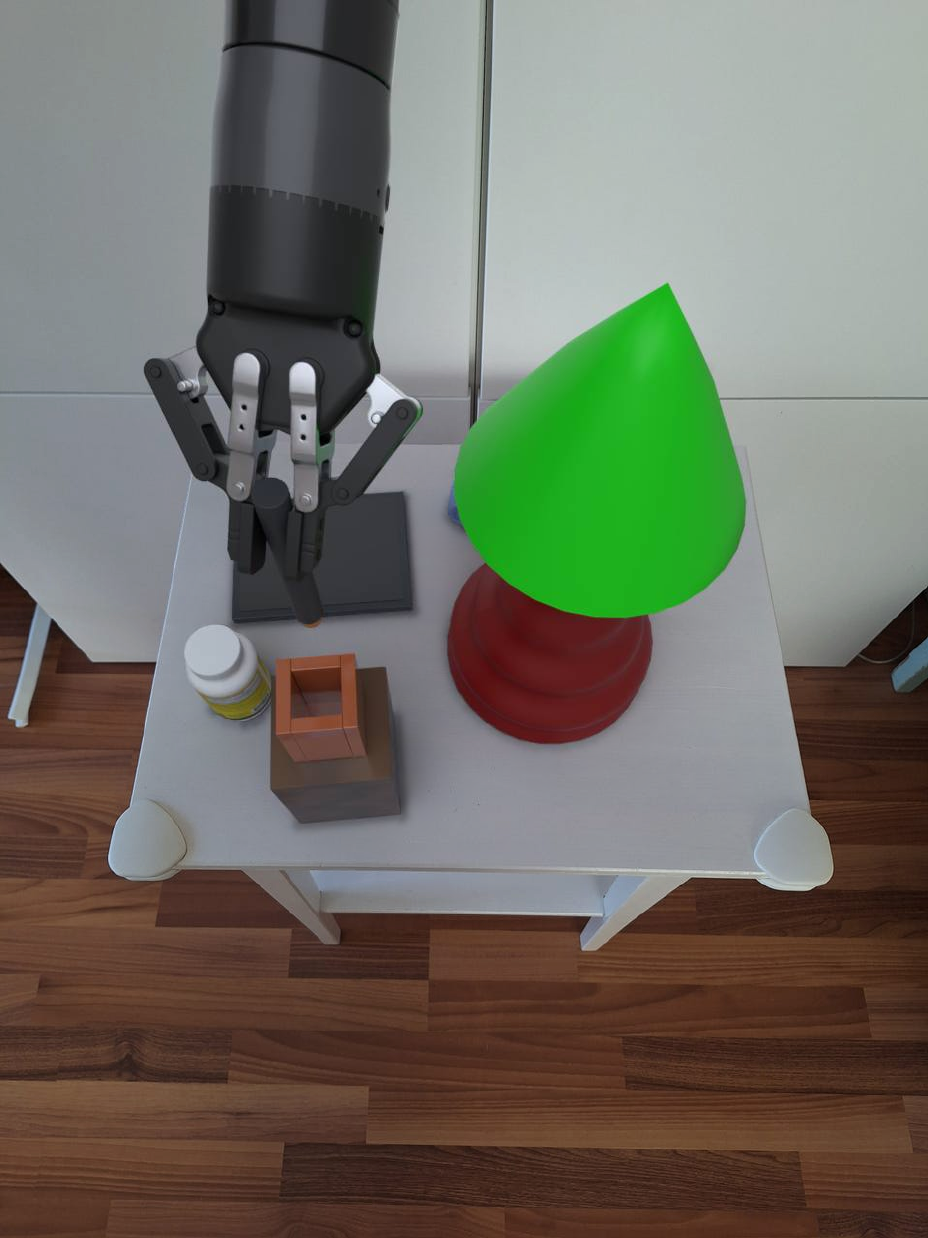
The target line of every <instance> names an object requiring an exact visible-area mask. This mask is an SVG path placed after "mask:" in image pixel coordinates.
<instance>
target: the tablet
mask: <svg viewBox="0 0 928 1238" xmlns="http://www.w3.org/2000/svg"><path fill="white" fill-rule="evenodd" d="M404 498H405V497H404V491H389V492H387V491H386V492H374V493H363V494H362V495H361V496H360V497H358V498H356V499H355V500H354V501H353V502H352V503H351V504H349V505H347V506H341V505H335V506H330V507H328V508H327V510H326V514H325V525H324V536H323V546H322V558H321V560H320V562H319V564H318V565H317V567H316V568H315V569H314V570H313V575H314V578H315V582H316V585H317V589H318V592H319V595H320V599H321V602H322V606H323V615H322V618H325V617H327V618H328V617H339V616H352V615H366V614H368V615H369V614H379V613H390V612H391V613H393V612H406V611H413V600H412V599H413V598H412V587H411V574H410V563H409V550H408V537H407V535H408V534H407V524H406V511H405V510H406V509H405V499H404ZM291 499H292V502H293V506H294V507H295V504H294V500H293V497H291ZM237 562H238V561H234V560H233V565H232V566H233V567H232V569H233V570H232V595H231V596H232V599H231V621H232V623H233V624H246V623H259V622H272V621H273V622H274V621H287V620H297V619H296V617H295V614H294V612H293V609H292V606H291V604H290V601H289V598H288V596H287V593H286V590H285V588H284V585H283V582H282V579H281V577H280V574H279V571H278V569H277V566H276V563H275V561H274V558H273V555H272V553H271V550H270V547H269V545H268V542H266V558H265V563H264V566H263V568H262V569H260V570H259V571H258V572H256V573H255V574H254V575H249V574H244V573H239V572H238V569H237Z"/></svg>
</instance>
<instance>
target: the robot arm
mask: <svg viewBox="0 0 928 1238" xmlns="http://www.w3.org/2000/svg"><path fill="white" fill-rule="evenodd" d="M401 4H402V0H222V12H221V13H222V14H221V15H222V16H221V39H220V40H221V43H220V60H219V72H218V78H217V85H216V91H215V97H214V102H213V109H212V121H211V136H210V137H211V140H210V164H209V165H210V167H209V168H210V169H209V170H210V171H209V191H208V192H209V194H208V228H207V256H206V257H207V258H206V259H207V260H206V285H205V287H206V290H205V291H206V301H207V309H206V314H205V318H204V320H203V322H202V324H201V326H200V328H199V329H198V331H197V334H196V337H195V345H193V346H192V347H189V348H187V349H185V350H183V351H181V352H179V353H176V354H174V355H172V356H170V357H152V358H149V359H148V360H147V361H146V362H145V363H144V366H143V374H144V376H145V379H146V381H147V383H148V386H149V388H150V390H151V392H152V394H153V395H154V397H155V400H156V402H157V404H158V406H159V408H160V410H161V413H162V414H163V416H164V418H165V420H166V423H167V425H168V427H169V428H170V432H171V433H172V435H173V437H174V439H175V441H176V443H177V445H178V447H179V449H180V451H181V453H182V455H183V458H184V459H185V462H186V464H187V466H188V467H189V468H188V469H189V470H190V473H191V474H192V475H193V477H194V478H195V479H196V480H198V481H200V482H209V483H211V484H212V485H213V486H216V487H218V488H219V489H221V490H222V491H223V492H224V493H225V494H226V495H227V498H228V502H229V504H228V505H229V506H228V527H227V528H228V531H227V549H226V550H227V553H228V556H229V559H230V561H233V562H234V561H238V562H237V569H238V572H239V573H244V574H249V575H254V574H255V573H256V572H258V571H259V570H260V569H262V568H263V566H264V563H265V558H266V542H267V539H266V537H265V534H264V531H263V529H262V526H261V523H260V520H259V518H258V515H257V512H256V510H255V507H254V504H253V502H252V499H251V490H252V488H253V486H254V485H255V484H256V483H257V482H258V481H260V480H262V479H264V478H269V475H270V467H271V460H272V459H271V458H272V453H273V450H274V449H275V446H276V443H277V436H278V431H280V432H283V434H287V435H288V436H290V449H289V450H290V452H289V453H290V461H291V462H292V465H293V493H292V494H293V495H292V496H293V497H292V498H293V500H294V504H295V507H294V508H293V509H292V510H290V511H288V521H287V535H286V549H285V563H284V580H285V581H289V582H295V583H299V582H301V581H302V580H303V579H304V578H305V577H306V576H307V574H309V573H311V572H312V571H313V570H314V569H315V568H316V567H317V565H318V564H319V562H320V560H321V558H322V546H323V536H324V525H325V514H326V510H327V508H328V507H330V506H335V505H341V506H347V505H349V504H351V503H352V502H353V501H354V500H355V499H356V498H358V497H360V496H361V495H362V494H365V492H366V491H367V490H368V488H369V487H370V486H371V484H372V483H373V482H374V480H375V479H376V478H377V477H378V475H379V473H380V472H381V471H382V470H383V468H385V466H386V464H387V463H388V461H390V459H391V458H392V456H393V455H394V454H395V453H396V452H397V450H398V449H399V448H400V446H401V444H402V443H403V442H404V440H405V439H406V438H407V437H408V435H409V434H410V432H411V431H412V430H413V429H414V427H415V426H416V424H417V423H418V422H419V421H420V419H421V418H422V416H423V414H424V406H423V403H422V402H421V401H420V399H418V398H417V397H415V396H409V395H406V394H405V393H404V392H403V391H402V390H401V389H399V388H398V387H397V386H396V385H394V384H393V383H392V382H390V380H388V378H386V377H384V375H382V374H381V369H382V367H381V360H380V356H379V355H378V353H377V352H378V351H377V349H376V346H375V339H374V330H375V321H376V311H377V302H378V292H379V284H380V283H379V281H380V271H381V261H382V254H383V253H382V252H383V251H382V250H383V242H384V233H385V224H386V223H385V222H386V214H387V212H389V206H390V199H391V186H390V175H391V165H392V163H391V162H392V98H393V95H392V94H393V87H394V77H395V69H396V58H397V57H396V56H397V48H398V37H399V28H400V17H401V16H400V15H401ZM207 373H208V375H209V377H210V379H211V380H212V382H213V383H214V385H215V387H216V389H217V390H218V393H219V394H220V396H221V398H222V399H223V401H224V403H225V405H226V406H227V407H228V410H229V411H230V415H229V424H228V431H227V432H228V434H227V442H226V441H225V438H224V436H223V434H222V432H221V430H220V427H219V425H218V423H217V421H216V419H215V417H214V415H213V412H212V410H211V408H210V406H209V404H208V401H207V399H206V397H205V395H206V394H207V393H208V391H209V382H208V380H207ZM366 395H368V397H369V399H370V405H369V408H368V410H367V413H366V421H367V424H368V425H369V426H370V428H372V429H373V430H372V431H371V433H370V434H369V435H368V437H367V438H366V439H365V440H364V442H363V443H362V445H361V446H360V448H359V449H358V450H357V452H355V455H354V456H353V457H352V459H351V460H350V461H349V463H348V464H347V465H346V466H345V468H344V470H343V471H342V472H341V473H340V475H338V476H333V477H332V472H333V471H332V466H333V458H334V455H335V450H336V449H335V446H336V429H337V428H338V426H339V425H340V424H341V423H342V422H343V421H344V420H345V419H346V417H348V415H349V414H350V413H351V412H352V411H353V410H354V409H355V407H357V405H358V404H359V403H360V402H361V400H362V399H364V398H365V396H366Z"/></svg>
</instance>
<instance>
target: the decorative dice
mask: <svg viewBox="0 0 928 1238" xmlns="http://www.w3.org/2000/svg"><path fill="white" fill-rule="evenodd" d="M447 516H448V517H449V518H450V519H451V521H452V522H454V523H456V524H458V525H459V526H463V525H462V523H461V520H460V518H459V514H458V509H457V504H456V500H455V495H454V480H453V481H452V484H451V488H450V494H449V498H448V505H447Z"/></svg>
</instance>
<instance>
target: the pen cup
mask: <svg viewBox="0 0 928 1238" xmlns="http://www.w3.org/2000/svg"><path fill="white" fill-rule="evenodd" d="M275 659H276V660H275V675H276V735H277V737H278V738H279V740H280V741H281V743H282V744H283V746H284V747H285V749H286V750H287V752H288V753H289V755H290V756H291V758H292V759H293V761H294V762H295V763H301V762H313V761H324V760H336V759H347V758H358V757H367V745H366V723H365V701H364V688H363V684H362V680H361V676H360V673H359V669H360V668H359V665H358V661H357V658H356V654H355V652H351V653H349V652H348V653H338V654H336V653H335V654H324V655H310V656H299V657H297V656H296V657H284V658H275Z"/></svg>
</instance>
